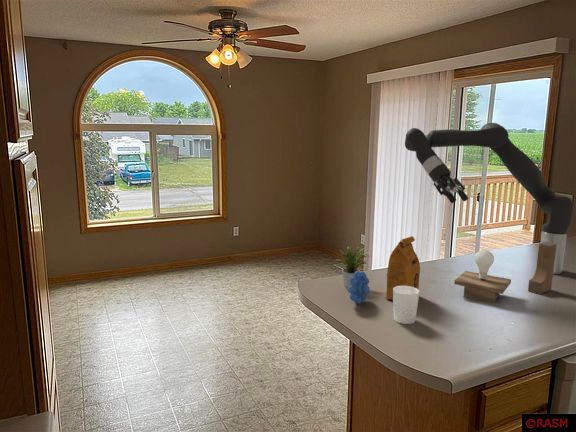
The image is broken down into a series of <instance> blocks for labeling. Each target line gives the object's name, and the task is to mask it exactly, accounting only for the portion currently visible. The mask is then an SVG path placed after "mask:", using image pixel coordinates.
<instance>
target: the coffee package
mask: <svg viewBox="0 0 576 432" xmlns="http://www.w3.org/2000/svg"><path fill="white" fill-rule="evenodd" d="M415 241H416V239H415V238H414V236H412V235H411V236H409V237H406V238H401V240H400V241H399V242H398V244H397V245H396V246H395V248H394V249H393V250H392V251H391V254H390V255H389V259H388V266H387V272H386V299H387V300H392V301H393V288H394V287H396V286H411V287H414V288H417V289H418V290H419V291H420V288H419V287H420V274H421V265H420V259H419V257H418V255H417V253H416V252H415V250H414V246H413V242H415Z"/></svg>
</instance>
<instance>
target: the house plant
mask: <svg viewBox="0 0 576 432" xmlns="http://www.w3.org/2000/svg"><path fill="white" fill-rule="evenodd" d="M360 247H361V245H359V246H358V247H357V248H356V250H355V251H354V253H353V250H352V245H351V244H350V245H347V247H346V248H347V249H346V253H344V251H343V250H341V249H338V250H339V251H340V254H341V255H342V257H343V259H344V260H345V261H344V260H342V259H340V258H338V259H336V261H338V262H340V263H342V270H341V272H342V280H343V284H344V287H345V289H348V287H349V286H351V285H352V284H351V283H350V278H351V277H354V275H353V274H354V273H355V272H356V271H359V272H361V269H359V268H358V267H362V268H363V269H364V264H365V265H366V264H367V265H368V263H367V262H366V260H363V258H367V257H370V255H369V254H368V253H370V251H368V252H363V250H364V249H365V248H364V247H363V248H360ZM359 249H360V250H359ZM362 252H363V253H362ZM361 259H362V260H361Z"/></svg>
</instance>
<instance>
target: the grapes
mask: <svg viewBox="0 0 576 432" xmlns="http://www.w3.org/2000/svg"><path fill="white" fill-rule="evenodd" d="M360 271H361V270H360ZM353 275H354V277H351V278H350V283H351V284H352V285H351V286H349V287H348V288H347V290H348V293H349V299H350V301H352V302H354V303H355V304H357V305H359V304H361V303H362V302H363V301H366V299H367V297H368V296H367V294H368V293H370V291H371V288H370V286H369V283H370V280H369V278H368V277H367V273H366V272H364V271H361V272H359V271H356V272H355V273H354V274H353Z"/></svg>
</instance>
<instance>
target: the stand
mask: <svg viewBox="0 0 576 432" xmlns="http://www.w3.org/2000/svg"><path fill="white" fill-rule="evenodd" d="M511 283H512V279H511V278H508V277H507V278H506V277H500V276H495V275H489V274H487V279H485V280H481V279H480V278H479V272H474V271H468V270H465V271H463V272H462V273H461V274H460V275H459V276H458V277H457V278H455V279H454V283H453V284H454V285H455V286H462V287H463V297H464V298H465V297H466V298H470V299H474V300H479V301H483V302H488V303H494V302H496V300H497V299H498V297H499V296H500V295H503V294H504V293H505V291H507V288H509V286H510V285H511Z"/></svg>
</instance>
